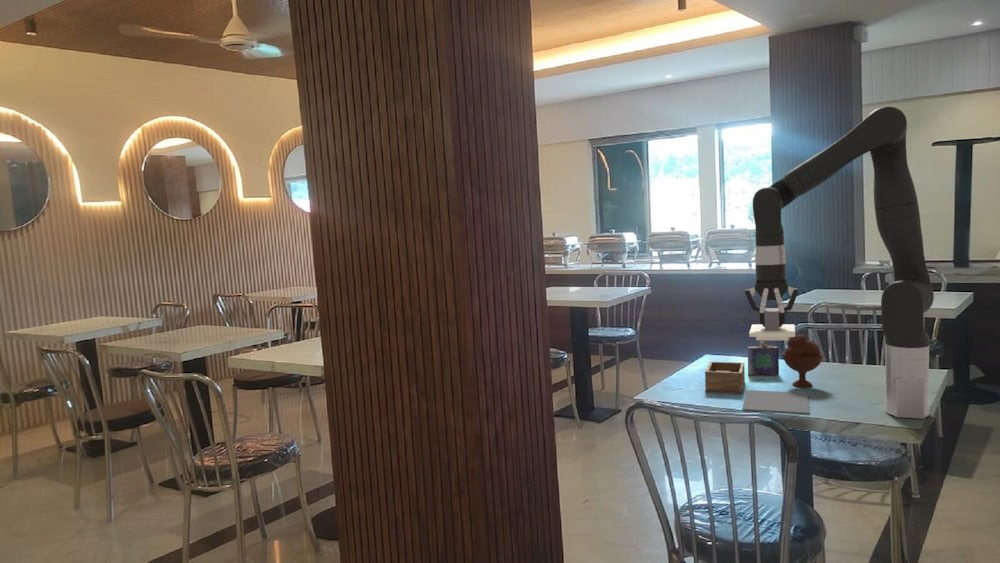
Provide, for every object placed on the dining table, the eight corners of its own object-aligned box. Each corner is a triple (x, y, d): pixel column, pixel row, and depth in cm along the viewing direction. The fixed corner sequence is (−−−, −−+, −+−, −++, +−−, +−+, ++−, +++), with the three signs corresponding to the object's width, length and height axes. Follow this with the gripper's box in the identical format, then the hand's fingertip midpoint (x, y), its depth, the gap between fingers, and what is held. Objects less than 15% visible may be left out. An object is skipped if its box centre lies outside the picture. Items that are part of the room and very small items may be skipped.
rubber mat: (809, 414, 170) (809, 412, 170) (742, 410, 176) (742, 408, 176) (807, 394, 188) (807, 392, 188) (746, 391, 194) (746, 390, 194)
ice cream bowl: (784, 389, 194) (784, 338, 193) (781, 380, 205) (780, 331, 203) (825, 390, 191) (824, 338, 190) (819, 381, 201) (818, 331, 200)
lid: (795, 341, 173) (794, 313, 172) (749, 341, 177) (748, 314, 176) (794, 332, 186) (793, 306, 186) (752, 332, 191) (751, 306, 190)
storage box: (742, 393, 192) (741, 373, 191) (705, 392, 196) (705, 371, 195) (744, 382, 205) (744, 362, 204) (710, 380, 209) (709, 361, 208)
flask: (748, 375, 213) (747, 342, 212) (747, 373, 216) (746, 340, 215) (779, 376, 211) (779, 342, 210) (778, 374, 213) (777, 340, 212)
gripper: (741, 264, 179) (743, 328, 181) (799, 262, 174) (801, 328, 175) (743, 262, 186) (745, 324, 188) (799, 260, 181) (801, 324, 182)
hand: (772, 326), depth 181 cm, fingers closed on lid, 3 cm apart
